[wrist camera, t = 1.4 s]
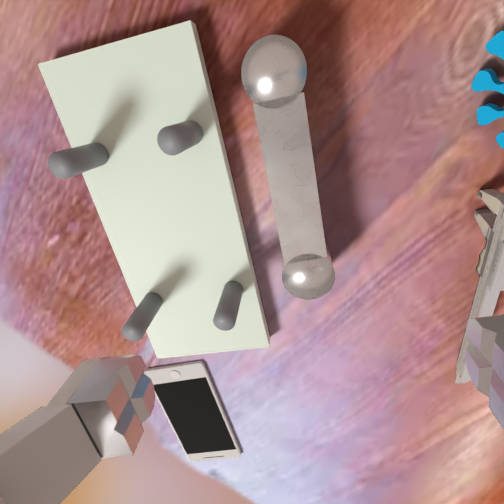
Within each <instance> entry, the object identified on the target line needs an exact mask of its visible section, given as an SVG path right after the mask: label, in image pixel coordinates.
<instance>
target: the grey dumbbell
mask: <svg viewBox="0 0 504 504" xmlns="http://www.w3.org/2000/svg"><path fill="white" fill-rule="evenodd" d="M306 77H307V64H306V60H305V57H304V54H303V52H302V50H301V49H300V47H299V46H298V45H297V44H296V43H295V42H294V41H293V40H291V39H289V38H287V37H285V36H282V35H269V36H265V37H263V38H261V39H259V40H257V41H256V42H255V43H254V44H253V45H252V46H251V47H250V48H249V49H248V51H247V53H246V55H245V57H244V59H243V63H242V68H241V78H242V83H243V86H244V89H245V91H246V93H247V94H248V96H249V97H250V98H251V99H252V100H253V101H254V102H255V103H256V104H253V108H254V113H255V118H256V123H257V128H258V133H259V138H260V143H261V148H262V153H263V158H264V164H265V169H266V174H267V179H268V184H269V189H270V194H271V199H272V204H273V209H274V214H275V219H276V224H277V230H278V235H279V240H280V245H281V250H282V255H283V271H282V280H283V284H284V286H285V288H286V289H287V291H288V292H289V293H291V294H292V295H293V296H295V297H298V298H301V299H308V300H309V299H316V298H319V297H321V296H323V295H325V294H326V293H327V292H328V291H329V290H330V289H331V288H332V286H333V284H334V280H335V272H334V268H333V264H332V260H331V256H330V252H329V249H328V247H327V245H326V244H325V238H324V231H323V224H322V217H321V209H320V202H319V195H318V188H317V181H316V174H315V167H314V160H313V153H312V146H311V139H310V132H309V125H308V117H307V110H306V103H305V96H304V92H302V93H301V91H302V89H303V87H304V85H305V82H306Z"/></svg>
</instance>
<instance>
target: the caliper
mask: <svg viewBox="0 0 504 504" xmlns="http://www.w3.org/2000/svg"><path fill="white" fill-rule="evenodd" d="M477 195H478V196H479V197H480V198H481V199H482V201H483V202H484V203H485V204H486V205H487V206H488V208H489V209H490V210H491V211H492V212H493V213H494V214H493V213H492V212H490V210H489V209H480V210H475V214H474V216H475V218H476V220H477V222H478V225H479V227H480V229H481V231H482V233H483V235H484V237H485V239H486V245H485V248H483V250H482V252H481V253H480V255H479V262H478V265H477V267H476V272H477V273H478V275H479V276H480V278H479V282H478V285H477V289H476V293H475V297H474V300H473V304H472V308H471V312H470V315H469V318H477V317H486V316H492V315H493V312H494V309H495V306H496V303H497V300H498V297H499V293H500V291H504V193H502V192H500V191H498V190H495V189H485V190H479V191H478V193H477ZM468 320H469V319H468ZM471 342H472V340H471V339H470V338H469V336H468V335H467V334H466V330H465V334H464V338H463V341H462V345H461V349H460V352H459V356H458V360H457V368H456V373H457V375H456V378H455V383H467V382H468V381H472V380H471V378H470V375H469V373H468V370H467V365H466V361H465V349H466V347H467V346H468V345H469V344H470V343H471Z"/></svg>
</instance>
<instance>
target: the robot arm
mask: <svg viewBox="0 0 504 504" xmlns="http://www.w3.org/2000/svg"><path fill="white" fill-rule="evenodd" d="M466 334H467V335H468V336H469V338H470V339H471V340H472V342H471V343H470V344H469V345H468V346H467V347H466V349H465V361H466V365H467V370H468V373H469V375H470V378H471V380H472V382H473V383H474V385H475V387H476V388H477V390H478V391H480V392H482V393H483V394H485V395H487V396H488V397H489V408H490V410H491V411H492V413H493V414H494V416H495V417H496V419H497V420H498V422H499V423H500V425H501V426H502V428H503V429H504V315H495V316H486V317H477V318H469V320H468V322H467V327H466ZM145 367H146V366H145V363H144V361H143V359H142V357H141V356H139V355H124V356H113V357H103V358H92V359H86V360H84V361H82V362H81V363H80V364H79V365H78V367H77V368H76V369H75V370H74V372H73V373H72V374H71V375H70V377H69V378H68V379H67V381H66V382H65V383H64V384H63V386H62V387H61V388H60V390H59V391H58V392H57V394H56V395H55V396H54V397H53V398H52V400H51V401H50V402H49V404H48V405H47V406H46V407H40V408H39V409H37V410H36V411H34V412H33V413H31V414H30V415H28V416H27V417H25V418H24V419H22V420H21V421H19V422H18V423H16V424H15V425H13V426H12V427H10V428H9V429H7V430H6V431H4V432H3V433H2V434H0V504H61V503H62V501H63V500H64V499H65V498H66V497H67V496H68V495H69V494H70V493H71V492H72V491H73V490H74V489H75V488H76V487H77V486H78V485H79V483H80V482H81V481H82V480H83V479H84V478H85V477H86V476H87V475H88V474H89V473H90V472H91V471H92V470H93V468H95V466H96V465H97V464H98V463H99V462H100V461H101V458H107V457H108V458H109V457H119V456H131V455H134V452H135V450H136V448H137V445H138V443H139V441H140V438H141V436H142V434H143V428H142V425H141V424H142V423H143V422H144V421H145V420H146V419H147V418H148V417H149V416H150V415H151V412H152V410H153V407H154V401H155V390H154V385H153V383H152V380H151V379H150V378H149V377H148V376H146V375H145V374H144V373H143V372H144V369H145Z"/></svg>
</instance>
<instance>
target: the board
mask: <svg viewBox="0 0 504 504" xmlns="http://www.w3.org/2000/svg"><path fill="white" fill-rule="evenodd" d="M38 66H39V69H40V71H41V73H42V76H43V78H44V81H45V83H46V86H47V88H48V91H49V93H50V96H51V98H52V101H53V103H54V105H55V108H56V110H57V113H58V115H59V118H60V120H61V123H62V125H63V128H64V130H65V132H66V135H67V137H68V140H69V142H70V145H71V147H72V148H70V149H66V150H62V151H58V152H54V153H52V154H51V155H50V156H49V159H48V166H49V168H50V170H51V172H52V173H53V174H54V175H55V176H57V177H58V178H61V179H67V178H70V177H73V176H75V175H78V174H81V173H82V174H83V177H84V179H85V182H86V184H87V187H88V189H89V191H90V194H91V196H92V199H93V201H94V204H95V206H96V209H97V211H98V214H99V216H100V219H101V221H102V223H103V226H104V228H105V231H106V233H107V236H108V238H109V241H110V243H111V246H112V248H113V250H114V253H115V255H116V258H117V260H118V263H119V265H120V268H121V270H122V273H123V275H124V278H125V280H126V282H127V285H128V287H129V290H130V292H131V295H132V297H133V300H134V302H135V305H136V307H137V308H136V309H135V311H134V312H133V314H132V315H131V316H130V318H129V319H128V321H127V322H126V323H125V325H124V326H123V328H122V334H123V336H124V337H125V338H126V339H128V340H130V341H139V340H140V339H141V338H142V337H143V335H144V334H145V332H147V334H148V337H149V339H150V341H151V344H152V346H153V349H154V351H155V354H156V356H157V359H159V358H169V357H178V356H188V355H198V354H207V353H217V352H226V351H236V350H245V349H255V348H264V347H269V344H270V335H269V331H268V326H267V322H266V318H265V314H264V310H263V305H262V301H261V297H260V293H259V288H258V284H257V280H256V276H255V272H254V267H253V263H252V259H251V255H250V250H249V246H248V242H247V238H246V234H245V229H244V225H243V221H242V217H241V213H240V208H239V204H238V200H237V196H236V191H235V187H234V183H233V179H232V175H231V170H230V166H229V162H228V158H227V153H226V149H225V145H224V141H223V137H222V132H221V128H220V124H219V120H218V116H217V111H216V107H215V103H214V99H213V94H212V90H211V86H210V82H209V78H208V73H207V69H206V65H205V61H204V56H203V52H202V48H201V44H200V40H199V35H198V31H197V27H196V24H195V23H193V22H192V21H191V20H189V21H186V22H183V23H179V24H176V25H172V26H169V27H165V28H162V29H158V30H155V31H151V32H148V33H144V34H141V35H137V36H134V37H130V38H127V39H123V40H120V41H116V42H113V43H109V44H106V45H102V46H99V47H95V48H92V49H89V50H85V51H82V52H78V53H75V54H71V55H68V56H64V57H61V58H57V59H54V60H50V61H47V62H43V63H40V64H38Z"/></svg>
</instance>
